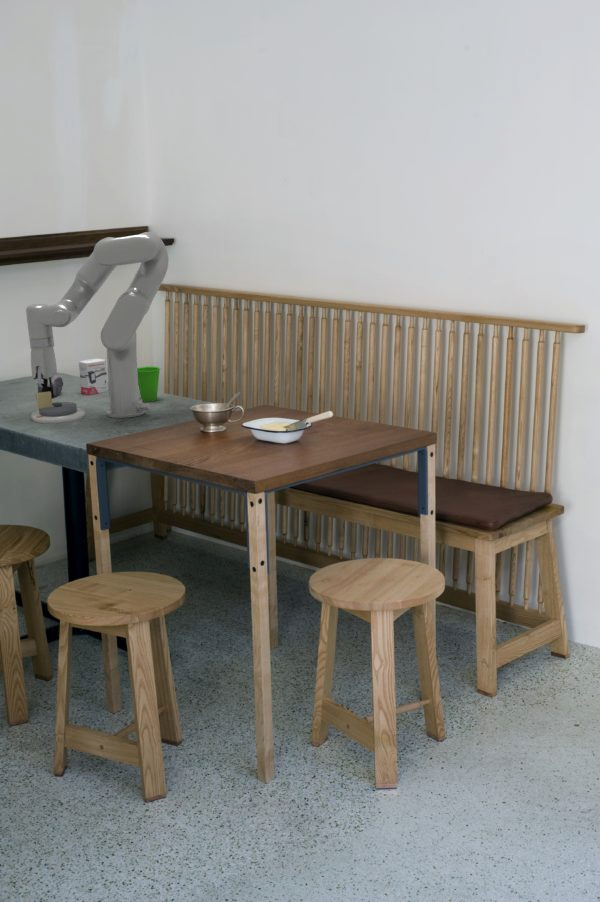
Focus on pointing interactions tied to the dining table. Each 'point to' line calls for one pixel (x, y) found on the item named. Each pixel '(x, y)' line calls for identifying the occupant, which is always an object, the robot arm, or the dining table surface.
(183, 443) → the dining table surface
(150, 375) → the cup
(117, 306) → the robot arm
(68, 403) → the dial
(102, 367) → the ink box
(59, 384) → the pumice stone
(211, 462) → the dining table surface
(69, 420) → the plate
